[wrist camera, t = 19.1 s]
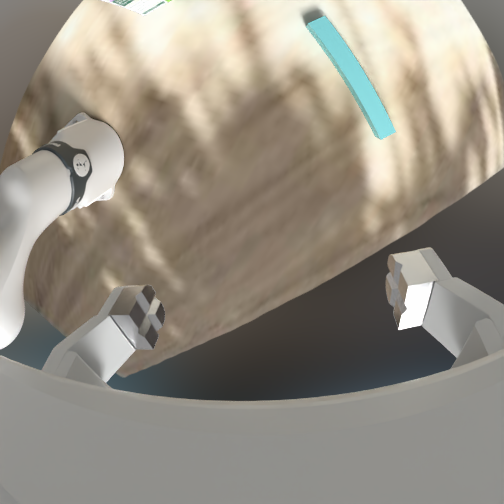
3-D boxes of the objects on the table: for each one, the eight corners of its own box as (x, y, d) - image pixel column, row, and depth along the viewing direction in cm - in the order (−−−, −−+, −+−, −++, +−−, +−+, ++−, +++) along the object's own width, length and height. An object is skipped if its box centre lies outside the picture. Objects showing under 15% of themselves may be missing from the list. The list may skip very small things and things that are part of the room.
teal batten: (388, 128, 37) (395, 132, 35) (374, 136, 39) (380, 139, 36) (321, 20, 29) (325, 15, 26) (305, 27, 30) (307, 23, 27)
